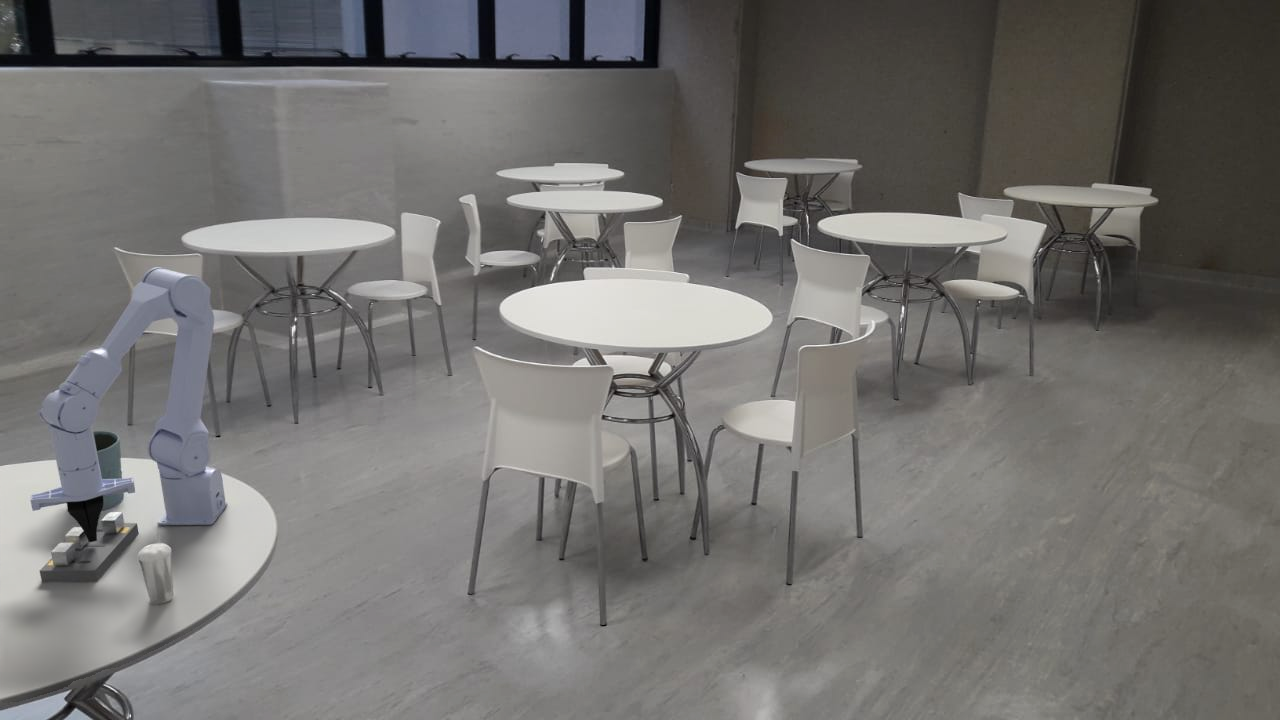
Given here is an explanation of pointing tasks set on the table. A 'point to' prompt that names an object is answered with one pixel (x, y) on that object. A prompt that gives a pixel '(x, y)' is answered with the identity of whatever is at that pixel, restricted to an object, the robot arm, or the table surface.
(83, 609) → the table surface
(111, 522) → the knob
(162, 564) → the milkshake
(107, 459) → the teal plant pot
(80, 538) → the knob
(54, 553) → the knob
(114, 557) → the switch panel
